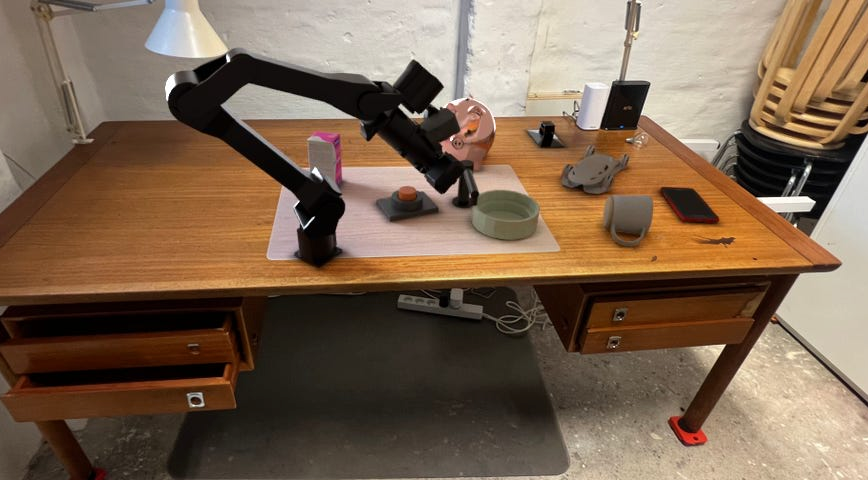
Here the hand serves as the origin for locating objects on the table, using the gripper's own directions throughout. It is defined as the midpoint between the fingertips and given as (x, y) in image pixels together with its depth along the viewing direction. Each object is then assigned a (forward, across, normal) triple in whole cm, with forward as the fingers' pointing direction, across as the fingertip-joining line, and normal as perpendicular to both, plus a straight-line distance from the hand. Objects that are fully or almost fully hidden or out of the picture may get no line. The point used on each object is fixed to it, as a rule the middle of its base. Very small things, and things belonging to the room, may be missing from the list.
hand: (454, 182), depth 97 cm
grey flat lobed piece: (+37, +8, -23) cm, 45 cm away
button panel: (+3, +10, +11) cm, 15 cm away
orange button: (+1, +10, +9) cm, 14 cm away
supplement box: (-6, +27, +20) cm, 34 cm away
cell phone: (+44, -11, -30) cm, 55 cm away
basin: (+14, -3, 0) cm, 15 cm away
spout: (+6, +3, -1) cm, 7 cm away
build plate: (+40, +33, -25) cm, 58 cm away
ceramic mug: (+30, -15, -15) cm, 36 cm away
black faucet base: (+12, +8, +2) cm, 14 cm away
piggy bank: (+19, +28, -5) cm, 34 cm away
